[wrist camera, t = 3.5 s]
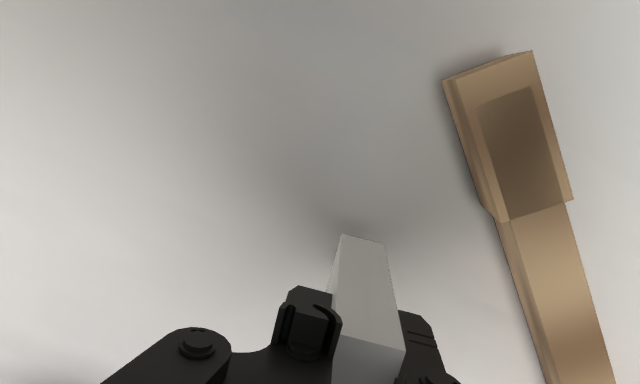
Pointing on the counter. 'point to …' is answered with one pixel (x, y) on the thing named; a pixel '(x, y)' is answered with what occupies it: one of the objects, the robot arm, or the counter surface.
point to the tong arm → (530, 211)
